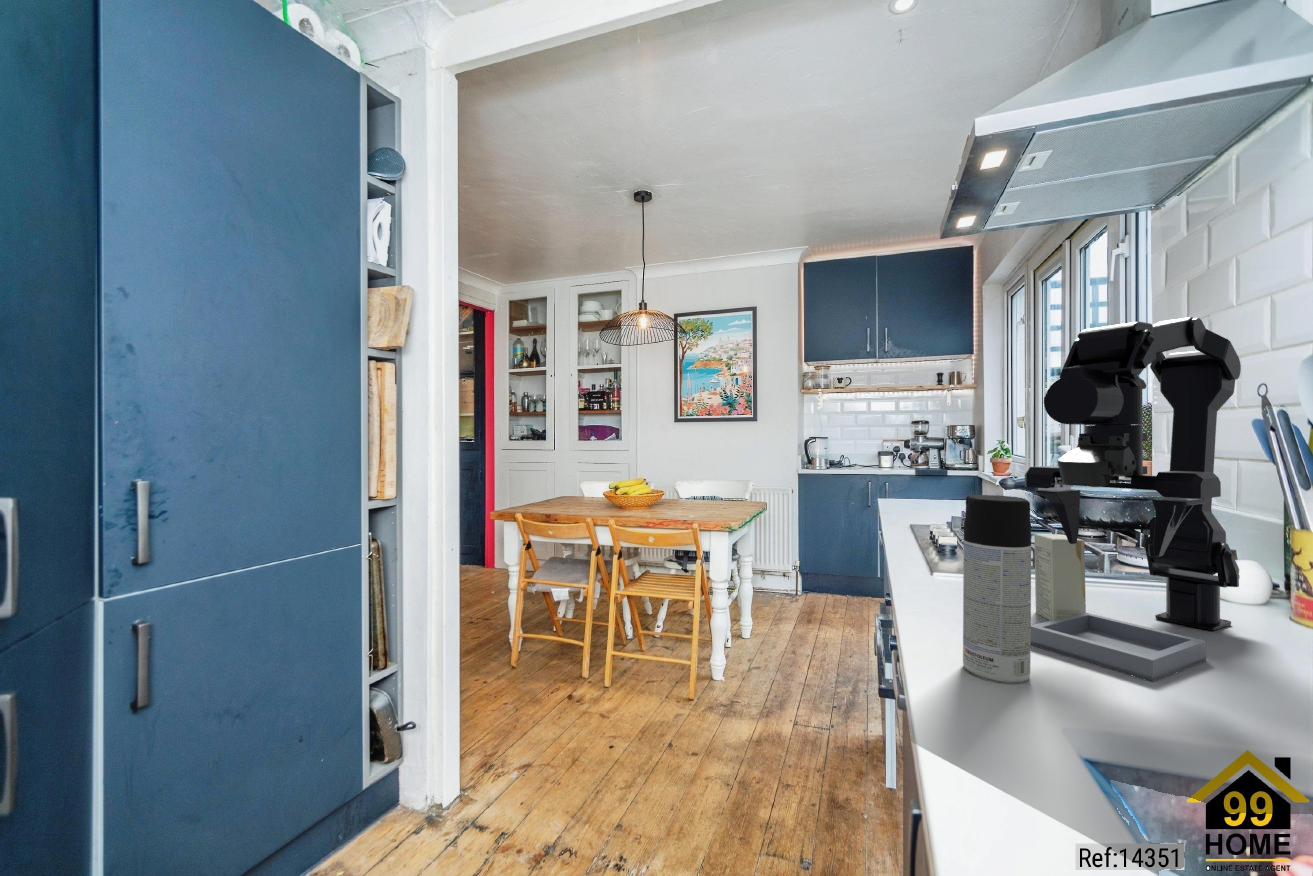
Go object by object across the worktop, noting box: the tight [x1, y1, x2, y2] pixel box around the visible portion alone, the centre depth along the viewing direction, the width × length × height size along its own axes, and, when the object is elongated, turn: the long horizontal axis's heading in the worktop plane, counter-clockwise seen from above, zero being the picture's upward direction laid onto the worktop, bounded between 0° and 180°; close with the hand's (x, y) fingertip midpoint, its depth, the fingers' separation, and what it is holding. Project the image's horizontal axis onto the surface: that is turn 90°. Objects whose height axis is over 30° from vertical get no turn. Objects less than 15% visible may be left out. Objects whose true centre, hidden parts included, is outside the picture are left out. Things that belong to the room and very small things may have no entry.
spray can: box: [962, 494, 1032, 685], centre depth 65 cm, size 7×7×20 cm
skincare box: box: [1033, 533, 1087, 621], centre depth 85 cm, size 6×4×12 cm
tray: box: [1031, 611, 1207, 683], centre depth 71 cm, size 13×13×2 cm
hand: (1113, 549), depth 72 cm, fingers open, 9 cm apart
